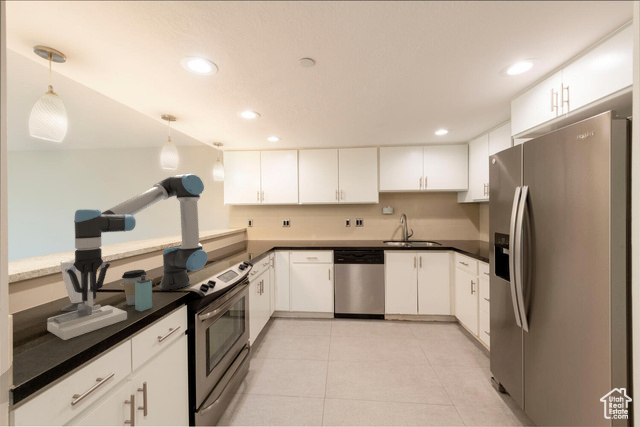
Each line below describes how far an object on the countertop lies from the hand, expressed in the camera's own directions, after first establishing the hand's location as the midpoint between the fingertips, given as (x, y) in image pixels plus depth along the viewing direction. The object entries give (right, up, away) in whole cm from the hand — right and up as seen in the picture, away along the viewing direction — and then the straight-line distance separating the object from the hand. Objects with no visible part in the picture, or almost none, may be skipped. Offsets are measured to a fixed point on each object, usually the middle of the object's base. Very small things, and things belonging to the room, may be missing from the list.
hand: (89, 308), depth 94 cm
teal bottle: (+12, -5, +13) cm, 19 cm away
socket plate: (+2, -6, -2) cm, 6 cm away
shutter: (-2, -2, -4) cm, 5 cm away
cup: (-21, -6, +17) cm, 28 cm away
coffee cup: (+2, -6, +21) cm, 22 cm away
